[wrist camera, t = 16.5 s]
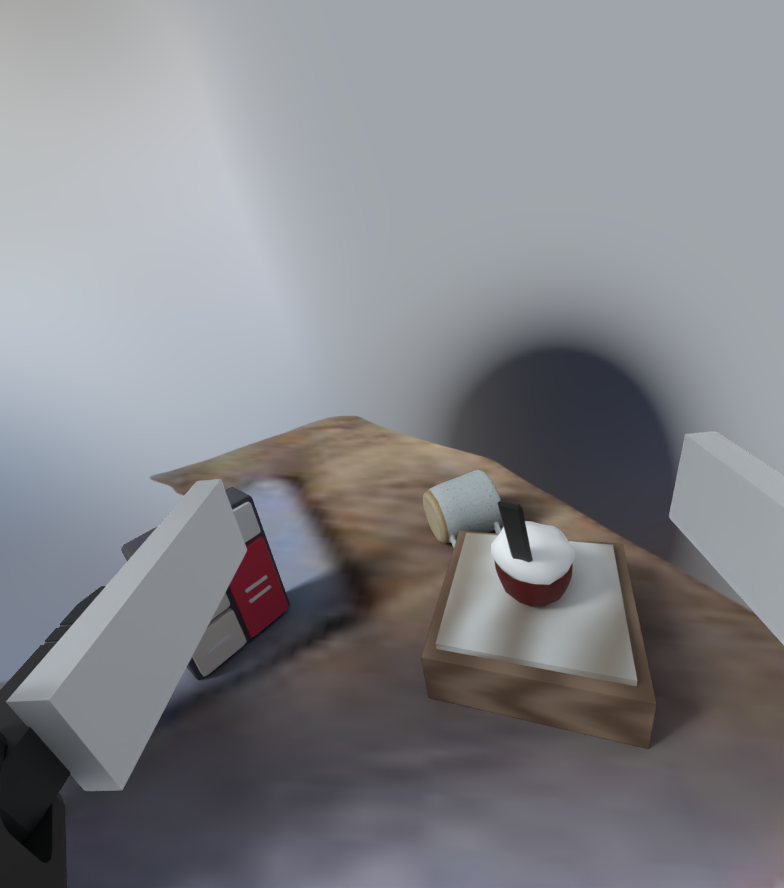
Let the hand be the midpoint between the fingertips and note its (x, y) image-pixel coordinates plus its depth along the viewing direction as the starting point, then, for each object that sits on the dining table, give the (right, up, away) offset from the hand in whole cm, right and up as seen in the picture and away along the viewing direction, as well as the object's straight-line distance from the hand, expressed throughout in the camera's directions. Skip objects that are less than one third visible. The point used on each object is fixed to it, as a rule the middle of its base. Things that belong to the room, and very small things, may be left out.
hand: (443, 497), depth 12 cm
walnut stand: (+12, -16, +27) cm, 33 cm away
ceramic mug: (+8, -10, +41) cm, 43 cm away
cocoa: (+11, -11, +24) cm, 29 cm away
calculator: (-17, -19, +32) cm, 41 cm away
